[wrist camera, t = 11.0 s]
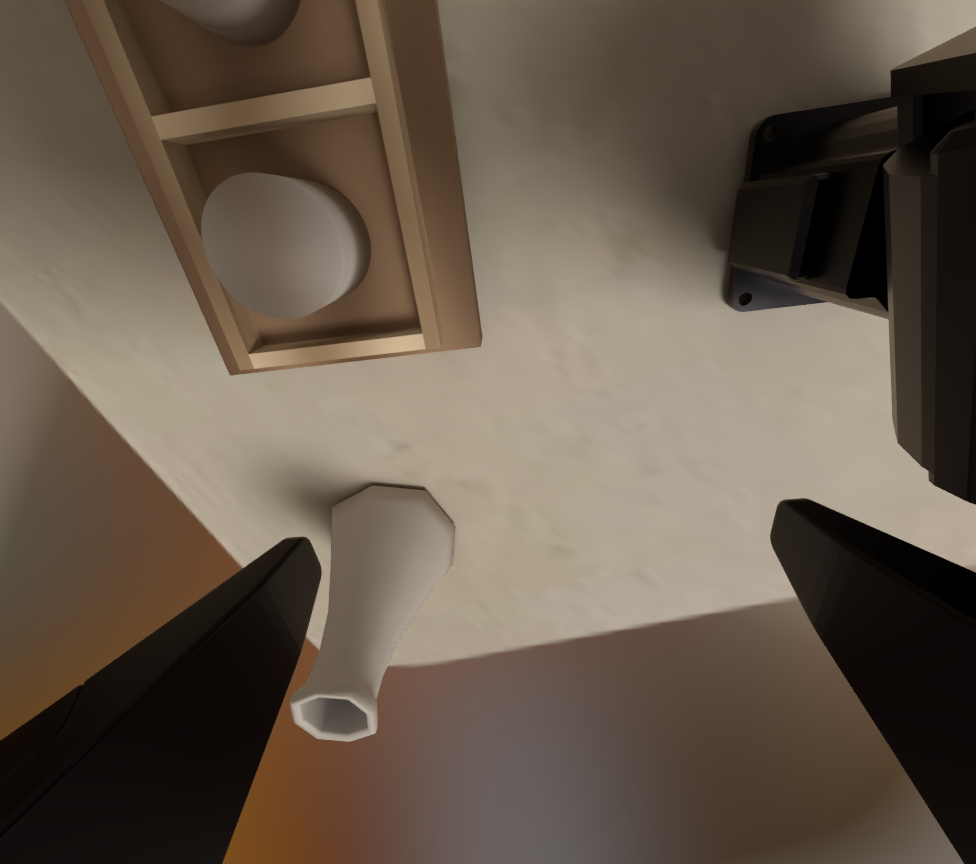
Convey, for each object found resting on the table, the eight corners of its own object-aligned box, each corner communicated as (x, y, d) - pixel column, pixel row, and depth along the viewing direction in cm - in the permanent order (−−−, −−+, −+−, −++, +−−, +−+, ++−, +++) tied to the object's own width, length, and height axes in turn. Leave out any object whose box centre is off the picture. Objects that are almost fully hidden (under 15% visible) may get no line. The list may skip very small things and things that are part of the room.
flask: (312, 493, 23) (192, 670, 14) (437, 470, 22) (393, 645, 13) (360, 585, 26) (287, 775, 17) (471, 568, 25) (454, 762, 16)
